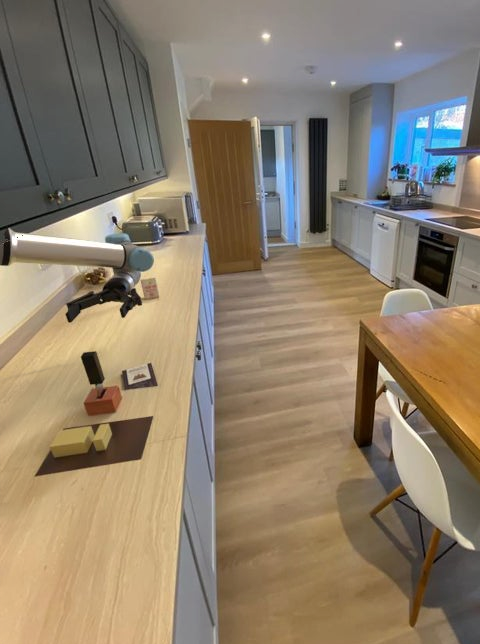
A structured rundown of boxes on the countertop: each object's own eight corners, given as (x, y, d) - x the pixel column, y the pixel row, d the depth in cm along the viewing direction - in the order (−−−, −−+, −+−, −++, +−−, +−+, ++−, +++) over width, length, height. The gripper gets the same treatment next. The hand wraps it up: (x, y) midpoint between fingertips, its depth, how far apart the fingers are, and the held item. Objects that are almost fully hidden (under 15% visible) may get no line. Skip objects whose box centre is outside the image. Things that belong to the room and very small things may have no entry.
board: (36, 481, 71) (34, 476, 71) (64, 432, 84) (63, 428, 83) (142, 463, 75) (141, 459, 75) (154, 419, 88) (153, 415, 87)
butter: (54, 457, 75) (49, 446, 74) (63, 440, 79) (59, 430, 78) (87, 452, 76) (83, 441, 75) (94, 436, 81) (91, 425, 79)
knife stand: (89, 420, 88) (83, 402, 85) (97, 405, 93) (91, 388, 91) (117, 416, 89) (111, 399, 87) (123, 401, 94) (118, 385, 92)
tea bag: (144, 297, 165) (140, 278, 161) (158, 294, 167) (155, 276, 163) (144, 299, 162) (140, 281, 158) (159, 297, 164) (155, 278, 160)
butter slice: (96, 451, 77) (92, 440, 75) (103, 435, 81) (100, 424, 80) (105, 449, 77) (101, 439, 76) (112, 433, 81) (108, 423, 80)
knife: (99, 415, 89) (79, 357, 82) (103, 407, 92) (84, 351, 84) (111, 413, 90) (92, 356, 82) (114, 406, 93) (96, 350, 85)
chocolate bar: (126, 403, 92) (121, 370, 106) (127, 406, 92) (122, 373, 106) (160, 392, 96) (151, 362, 110) (160, 395, 97) (151, 365, 111)
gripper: (160, 294, 112) (146, 323, 93) (81, 301, 107) (49, 332, 88) (156, 274, 109) (140, 299, 90) (74, 280, 104) (40, 307, 85)
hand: (95, 315), depth 89 cm, fingers open, 13 cm apart
